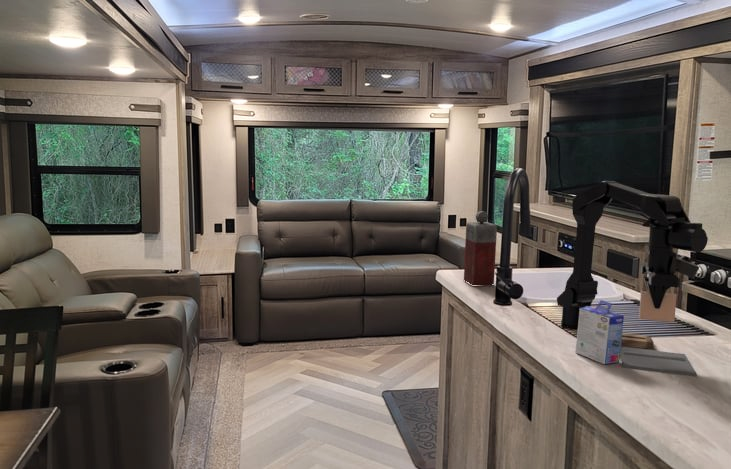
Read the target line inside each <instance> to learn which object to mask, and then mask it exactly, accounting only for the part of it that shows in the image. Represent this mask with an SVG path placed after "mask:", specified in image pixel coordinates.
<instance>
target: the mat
mask: <svg viewBox="0 0 731 469" xmlns="http://www.w3.org/2000/svg"><path fill="white" fill-rule="evenodd" d="M620 361H621V365H622V367H623V368H629V369H635V370H636V369H637V370H643V371H645V370H646V371H652V372H653V371H654V372H659V373H668V374H677V375H685V376H686V375H687V376H693V377H694V376H695V377H697V375H698V374H697V371H696V370H695V369H694V366H693V365H692V364H691V362H690V360H689V359H688V357H687V355H686V354H685V353H678V352H677V353H676V352H670V351H663V350H662V351H661V350H653V349H645V348H636V347H627V346H621V350H620Z"/></svg>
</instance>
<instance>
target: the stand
mask: <svg viewBox="0 0 731 469" xmlns="http://www.w3.org/2000/svg"><path fill="white" fill-rule="evenodd" d="M621 347H629V348H638V349H648V348H649V349H648V350H653V349H654V340H653V338H652V337H651V336H650V335H644V334H643V335H642V334H633V333H625V332H622V339H621Z"/></svg>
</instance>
